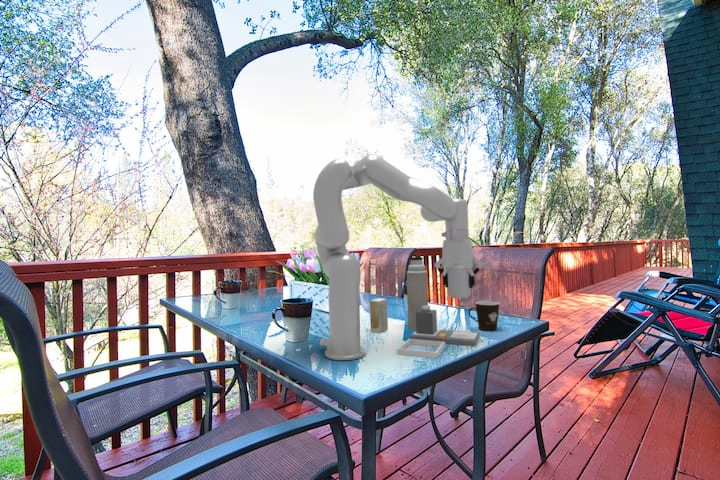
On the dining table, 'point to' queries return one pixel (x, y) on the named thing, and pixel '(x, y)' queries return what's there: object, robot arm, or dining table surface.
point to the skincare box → (378, 315)
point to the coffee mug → (486, 315)
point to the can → (458, 281)
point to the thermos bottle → (416, 289)
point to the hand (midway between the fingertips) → (459, 287)
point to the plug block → (426, 320)
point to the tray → (417, 352)
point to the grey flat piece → (450, 337)
